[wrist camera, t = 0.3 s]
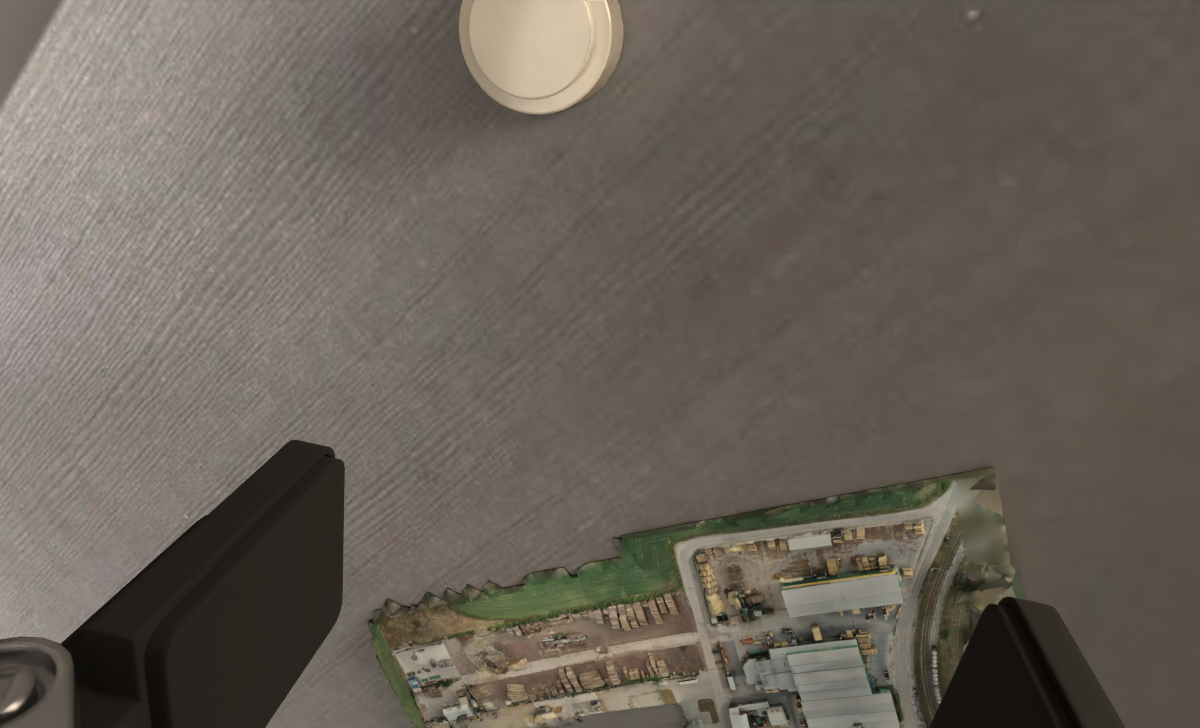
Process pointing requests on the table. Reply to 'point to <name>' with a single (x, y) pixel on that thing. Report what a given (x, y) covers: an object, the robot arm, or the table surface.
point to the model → (724, 620)
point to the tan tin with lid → (541, 50)
